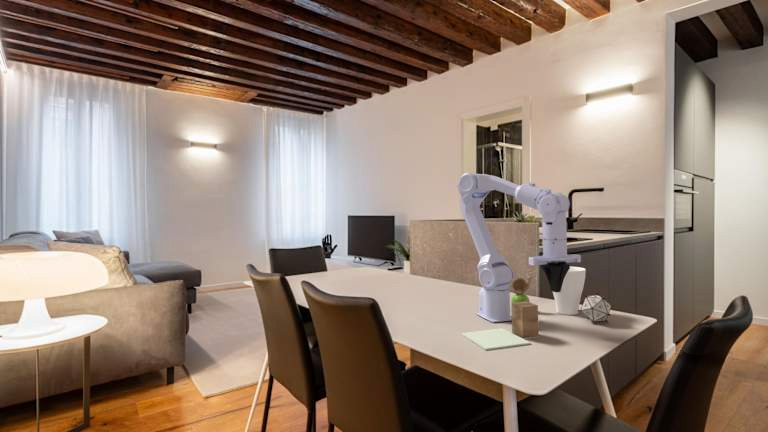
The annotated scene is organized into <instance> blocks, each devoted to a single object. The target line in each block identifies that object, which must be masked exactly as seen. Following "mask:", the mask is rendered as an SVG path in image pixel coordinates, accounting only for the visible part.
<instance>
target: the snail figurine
mask: <svg viewBox="0 0 768 432" xmlns="http://www.w3.org/2000/svg"><path fill="white" fill-rule="evenodd" d="M532 274H533V273H532V272H529V275H528V276H527V277H526V278H527V281H526V280H525V279H524V278H523V277H516V278H514V279H513V281H512V282H511V287H512V289H513V290H512V292H513V293H514V295H513V296H512V297H511V303H516V302H526V301H527V302H530V303H531V301H530V298H529V297H528V296H527V295H526V293H527V292H528V291H529V290H530V289H531V288H530V287H531V283H532V279H533V277H532Z"/></svg>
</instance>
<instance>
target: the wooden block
mask: <svg viewBox="0 0 768 432" xmlns="http://www.w3.org/2000/svg"><path fill="white" fill-rule="evenodd" d="M510 306H511V316H512V320H511V331H512V332H511V333H513V334H515V335H516V336H518V337H520V338H522V339H524V340H527V339H535V338H539V305H538V304H536V303H532V302H531V301H530V302H527V301H526V302H516V303H512V302H510Z"/></svg>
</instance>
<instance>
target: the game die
mask: <svg viewBox="0 0 768 432" xmlns="http://www.w3.org/2000/svg"><path fill="white" fill-rule="evenodd" d="M583 296H584V300H582V301H581V303H582V305H581V307H580V309H579V310H578V312H581V313H582V314H583V315H584V316H586V319H587V320H590V321H592V325H595V324H596V322H601V321H602V322H603V321H605V322H606V323H609V321H608V320H607V319H608V317H611V316H612V315H611V314H610V313H611V309H612V307H615V305H614V304H611V303H609V302H608V300H606V296H600V293H599V292H597V293H596V295H594V294H593V295H587V294H585V293H584V294H583Z"/></svg>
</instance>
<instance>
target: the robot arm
mask: <svg viewBox="0 0 768 432" xmlns="http://www.w3.org/2000/svg"><path fill="white" fill-rule="evenodd" d="M456 189H457V190H458V193H459V204H460V205H459V207H460V210H461V212H462V216H463V217H464V221H465V222H466V226H467V228H468V230H469V231H468V232H469V233H470V235H471V236H470V237H471V238H472V241H473V244H474V247H475V249H476V251H477V254H478V257H479V262H478V264H477V266H476V267H477V271H478V280H479V283H480V284H481V286H482V287H481V289H480V290H479V292H478V309H479V310H478V311H479V312H476V315H477V316H479V317H481V318H483V319H485V320H487V321H489V322H491V323H500V322H508V321H511V322H512V315H511V294H510V291H511V290H510V289H511V288H510V287H511V284H512V282H513V280H514V279H515V273H514V270H513V268H512V267H511V266H510V265H509V264H508V262H507V260H506V258H505V257H503V256H502V255H501V254H500V253H499V252H498V250H497V248H496V245H495V243H494V239H493V237H492V234H491V232H490V229H489V227H488V225H487V222H486V220H485V219H486V218H485V217H484V215H483V213H482V210H481V207H480V206H481V204H482V202H483V201H484V200H485V198H486V197H487V196H488V195H489V193H490V192H491V191H497V192H500V193H503V194H507V195H510V196H513V197H515V200H516V202H517V203H519V204H521V205H523V206H526V207H529V208H532V209H534V210H536V211H538V212H539V213H540V214H541V220H542V221H541V223H542V225H541V226H542V255H538V256H531V257H528V265H529V266H534V267H535V266H540V267H541V270H542V271H543V272H544V274H545V276H546V279H547V281H548V285H549V287H550V292H552V293H553V292H561V288H562V284H563V280H564V278H565V275H566V273H567V272H568V270H569V269H570V266H571V265H570V264H569V263H582V256H581V254H575V253H574V254H568V243H567V242H568V240H567V239H568V237H567V236H568V235H567V232H568V231H567V212H568V211H569V209H570V207H571V202H570V199H569V198H568V197H567V195H565V194H563V193H562V192H555V193H554V192H553V193H552V189H550V188H545V189H544V188H541V187H539V186H536V183H533V182H527V183H522V184H521V185H519V184H516V183H514V182H512V181H509V180H506V179H504V178H501V177H499V176H496V175H493V174H492V175H491V174H490V175H489V174H487V173H482V174H481V173H472V172H465V173H463V174H462V175H461V176H460V178H459V180H458V182H457V184H456Z"/></svg>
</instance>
